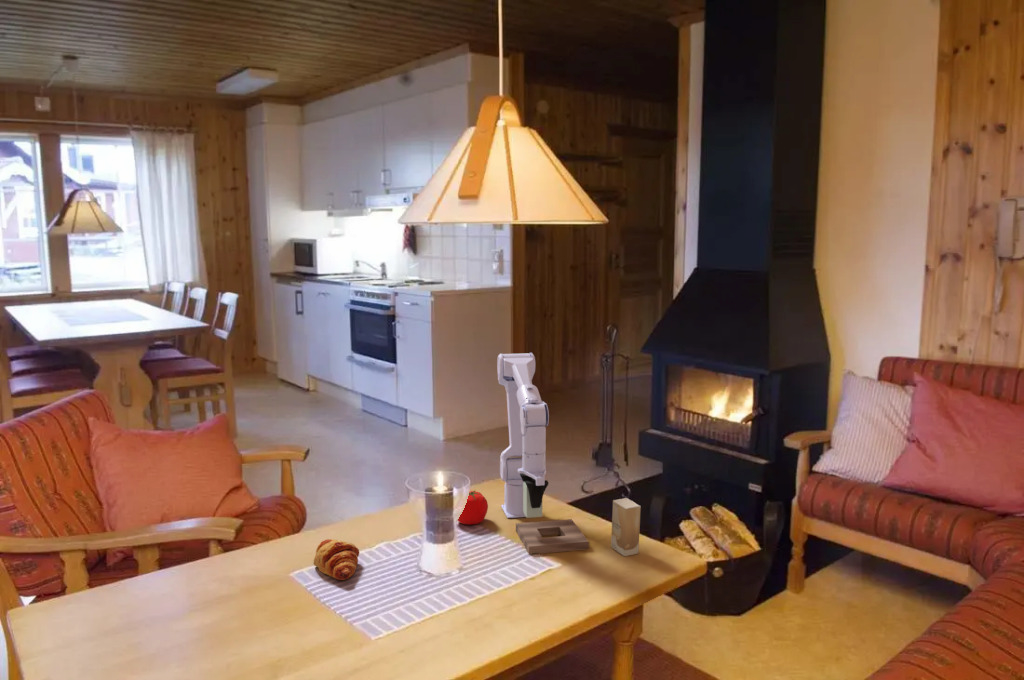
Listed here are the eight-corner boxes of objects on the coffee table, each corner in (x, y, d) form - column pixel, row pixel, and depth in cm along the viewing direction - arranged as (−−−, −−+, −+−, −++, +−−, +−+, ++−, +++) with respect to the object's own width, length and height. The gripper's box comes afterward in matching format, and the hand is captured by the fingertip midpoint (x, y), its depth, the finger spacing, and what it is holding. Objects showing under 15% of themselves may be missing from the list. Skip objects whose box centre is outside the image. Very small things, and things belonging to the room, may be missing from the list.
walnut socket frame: (515, 530, 203) (515, 523, 203) (571, 526, 206) (571, 519, 206) (528, 554, 189) (528, 546, 188) (588, 549, 192) (588, 541, 192)
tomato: (448, 527, 206) (447, 496, 204) (459, 513, 215) (459, 484, 214) (482, 530, 203) (482, 499, 202) (492, 516, 213) (492, 486, 212)
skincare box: (610, 547, 193) (611, 499, 191) (625, 544, 195) (626, 497, 193) (624, 557, 187) (625, 508, 186) (639, 554, 189) (641, 505, 187)
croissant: (315, 565, 191) (298, 540, 188) (351, 540, 194) (335, 515, 191) (336, 601, 172) (318, 573, 169) (375, 572, 175) (357, 545, 172)
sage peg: (523, 511, 198) (523, 481, 197) (538, 510, 199) (538, 480, 197) (526, 517, 194) (526, 486, 193) (542, 516, 195) (542, 485, 194)
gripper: (512, 444, 200) (512, 495, 202) (524, 461, 186) (524, 515, 188) (539, 443, 202) (538, 493, 204) (553, 459, 188) (552, 513, 190)
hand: (533, 504), depth 196 cm, fingers closed on sage peg, 4 cm apart
